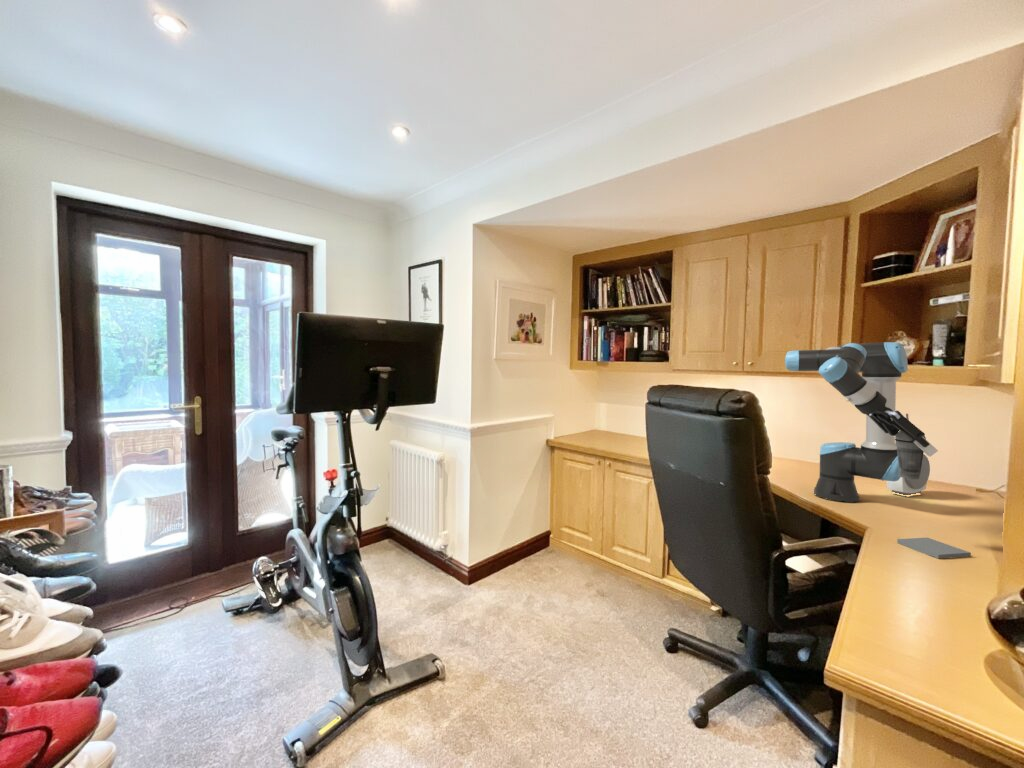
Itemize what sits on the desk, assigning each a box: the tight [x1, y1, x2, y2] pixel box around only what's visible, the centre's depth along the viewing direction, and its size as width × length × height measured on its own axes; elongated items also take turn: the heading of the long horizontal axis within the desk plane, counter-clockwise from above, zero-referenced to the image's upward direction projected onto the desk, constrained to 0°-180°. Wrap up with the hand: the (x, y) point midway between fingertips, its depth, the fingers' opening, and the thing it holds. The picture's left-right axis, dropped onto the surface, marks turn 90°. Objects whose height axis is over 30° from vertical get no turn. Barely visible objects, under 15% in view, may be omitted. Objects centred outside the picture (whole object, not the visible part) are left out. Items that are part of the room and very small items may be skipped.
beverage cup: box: [895, 413, 927, 479], centre depth 130 cm, size 7×7×20 cm
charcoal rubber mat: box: [896, 537, 972, 559], centre depth 124 cm, size 11×11×1 cm
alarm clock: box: [886, 453, 931, 495], centre depth 181 cm, size 18×8×20 cm, turn 110°
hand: (923, 450), depth 129 cm, fingers closed on beverage cup, 7 cm apart
